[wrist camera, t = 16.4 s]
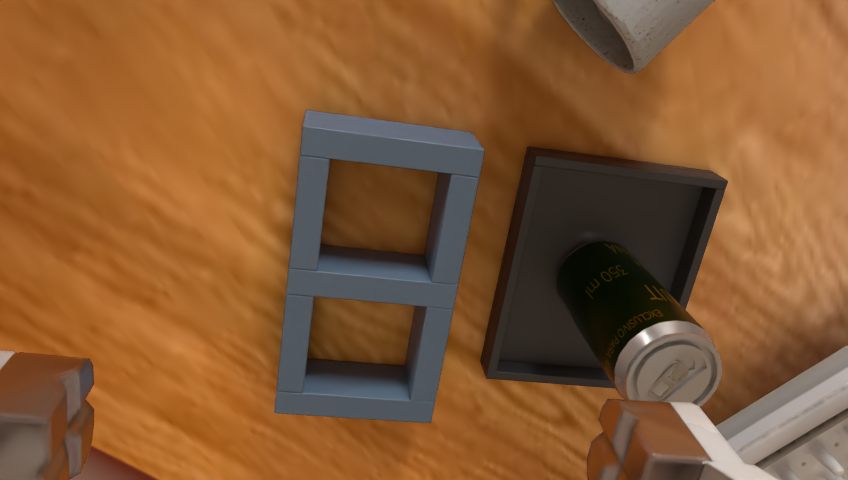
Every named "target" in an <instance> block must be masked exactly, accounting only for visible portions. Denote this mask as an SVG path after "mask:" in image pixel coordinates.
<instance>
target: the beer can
mask: <svg viewBox="0 0 848 480" xmlns="http://www.w3.org/2000/svg"><path fill="white" fill-rule="evenodd" d="M557 293H558V295H559V297H560V300H561V302H562V304H563V305H564V307H565V308H566V310H567V312H568V313H569V315H570V316H571V318H572V320H573V321H574V323H575V324H576V326H577V327H578V329H579V331H580V332H581V334H582V335H583V337H584V339H585V340H586V342H587V343H588V345H589V347H590V348H591V350H592V351H593V353H594V355H595V356H596V358H597V359H598V361H599V363H600V364H601V366H602V367H603V369H604V370H605V372H606V374H607V375H608V377H609V378H610V380H611V382H612V383H613V385H614V386H615V388H616V390H617V391H618V393H619V394H620V395H621V396H622V397H623V398H624V400H637V401H656V402H689V403H693V404H695V405H697V406H699V407H701V406H702V405H703V404H705V403H706V402H707V401H708V400H709V398H710V397H711V396H712V395H713V393H714V392H715V391H716V389H717V387H718V384H719V382H720V379H721V375H722V362H721V359H720V356H719V353H718V351H717V350H716V349H715V345H714V342H713V339H712V338H711V337H710V336H709V335H708V334H707V332H706V331H705V330H704V329H703V328H702V327H701V326H700V325H699V324H698V323H697V322H696V321H695V320H694V319H693V317H692V316H691V315H690V314H689V313H688V312H687V311H686V310H685V309H684V308H683V307H682V306H681V305H680V304H679V303H678V302H677V301H676V300H675V299H674V298H673V297H672V295H671V294H670V293H669V292H668V291H667V290H666V289H665V288H664V287H663V286H662V285H661V284H660V283H659V282H658V281H657V280H656V279H655V278H654V277H653V276H652V275H651V274H650V272H649V271H648V270H647V269H646V268H645V267H644V266H643V265H642V264H641V263H640V262H639V261H638V260H637V259H636V258H635V257H634V256H633V255H632V254H631V253H630V252H629V250H628V249H627V248H625V247H623V246H621V245H619V244H617V243H615V242H608V241H594V242H587V243H585V244H583V245H581V246H578V247H576V248H575V249H574V250H573V251H572V252H570V253H569V254H568V255H567V256H566V258H565V259H564V261H563V262H562V264H561V267H560V270H559V273H558V277H557Z"/></svg>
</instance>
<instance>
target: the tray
mask: <svg viewBox="0 0 848 480" xmlns="http://www.w3.org/2000/svg"><path fill="white" fill-rule="evenodd" d="M727 183H728V181H727V180H726V179H724V178H722V177H721V176H719V175H717V174H715V173H714V172H712V171H708V170H700V169H693V168H685V167H678V166H670V165H663V164H655V163H648V162H640V161H633V160H625V159H618V158H610V157H603V156H595V155H588V154H580V153H573V152H565V151H558V150H550V149H543V148H535V147H527V151H526V156H525V161H524V165H523V170H522V174H521V179H520V183H519V188H518V192H517V197H516V201H515V206H514V211H513V215H512V220H511V224H510V229H509V233H508V238H507V242H506V247H505V252H504V256H503V261H502V265H501V270H500V274H499V279H498V283H497V288H496V292H495V297H494V302H493V306H492V311H491V315H490V320H489V324H488V329H487V333H486V338H485V342H484V347H483V352H482V356H481V361H480V362H481V365H482V368H483V371H484V374H485V376H486V378H487V379H500V380H513V381H526V382H539V383H553V384H566V385H579V386H592V387H605V388H615V386H614V385H613V383H612V382H611V380H610V378H609V377H608V375H607V374H606V372H605V370H604V369H603V367H602V366H601V364H600V363H599V361H598V359H597V358H596V356H595V355H594V353H593V351H592V350H591V348H590V347H589V345H588V343H587V342H586V340H585V339H584V337H583V335H582V334H581V332H580V331H579V329H578V327H577V326H576V324H575V323H574V321H573V320H572V318H571V316H570V315H569V313H568V312H567V310H566V308H565V307H564V305H563V304H562V302H561V300H560V297H559V295H558V293H557V277H558V273H559V270H560V267H561V264H562V262H563V261H564V259H565V258H566V256H567V255H568V254H569V253H570V252H572V251H573V250H574V249H575V248H576V247H578V246H581V245H583V244H585V243H587V242H594V241H608V242H615V243H617V244H619V245H621V246H623V247H625V248H627V249H628V250H629V252H630V253H631V254H632V255H633V256H634V257H635V258H636V259H637V260H638V261H639V262H640V263H641V264H642V265H643V266H644V267H645V268H646V269H647V270H648V271H649V272H650V274H651V275H652V276H653V277H654V278H655V279H656V280H657V281H658V282H659V283H660V284H661V285H662V286H663V287H664V288H665V289H666V290H667V291H668V292H669V293H670V294H671V295H672V297H673V298H674V299H675V300H676V301H677V302H678V303H679V304H680V305H681V306H682V307H683V308H684V309H686V306H687V303H688V300H689V297H690V294H691V291H692V288H693V285H694V282H695V279H696V276H697V273H698V270H699V267H700V264H701V261H702V258H703V255H704V252H705V249H706V246H707V243H708V240H709V237H710V234H711V231H712V228H713V225H714V222H715V219H716V216H717V213H718V210H719V207H720V204H721V201H722V198H723V195H724V192H725V189H726V186H727Z"/></svg>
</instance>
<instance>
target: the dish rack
mask: <svg viewBox="0 0 848 480" xmlns="http://www.w3.org/2000/svg"><path fill="white" fill-rule="evenodd" d="M715 427H716V428H717V430H718V431H719V432H720V433H721V435H722V436H723V437H724V438H725V440H726V441H727V442H728V443H729V445H730V446H731V447H732V448H733V450H734V451H735V452H736V453H737V455H738V456H739V457H740V458H741V460H742V461H743V462H744V464H753V465H755V466H757V467H759V468H760V469H762V470H764V471H765V472H767V473H769V474H771V475H772V476H774V477H776V478H777V479H779V480H848V345H847V346H845V347H843V348H842V349H840V350H838V351H837V352H835V353H834V354H832V355H830V356H829V357H827V358H825V359H824V360H822V361H820V362H819V363H817V364H816V365H814V366H812V367H811V368H809V369H807V370H806V371H804V372H803V373H801V374H799V375H798V376H796V377H794V378H793V379H791V380H790V381H788V382H786V383H785V384H783V385H781V386H780V387H778V388H777V389H775V390H773V391H772V392H770V393H768V394H767V395H765V396H763V397H762V398H760V399H759V400H757V401H755V402H754V403H752V404H750V405H749V406H747V407H746V408H744V409H742V410H741V411H739V412H738V413H736V414H734V415H733V416H731V417H729V418H728V419H726V420H725V421H723V422H721V423H720V424H718V425H716V426H715Z"/></svg>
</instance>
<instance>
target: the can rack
mask: <svg viewBox="0 0 848 480" xmlns="http://www.w3.org/2000/svg"><path fill="white" fill-rule="evenodd" d="M484 152H485V150H484V148H483V147H482V146H481V144H480V143H479V141H478V140H477V139H476V137H475V136H474V135H473V133H472V132H466V131H459V130H451V129H444V128H436V127H429V126H422V125H414V124H407V123H399V122H392V121H385V120H377V119H370V118H362V117H355V116H348V115H340V114H333V113H325V112H318V111H311V110H306V113H305V118H304V123H303V129H302V139H301V149H300V159H299V169H298V179H297V189H296V199H295V209H294V219H293V230H292V240H291V250H290V260H289V270H288V280H287V290H286V300H285V310H284V320H283V330H282V340H281V350H280V360H279V370H278V380H277V391H276V400H275V410H274V412H275V413H281V414H296V415H312V416H327V417H343V418H358V419H373V420H389V421H404V422H420V423H431V420H432V415H433V410H434V405H435V400H436V395H437V390H438V385H439V380H440V375H441V370H442V365H443V360H444V355H445V350H446V345H447V340H448V335H449V330H450V325H451V319H452V314H453V309H454V304H455V299H456V294H457V289H458V283H459V278H460V273H461V268H462V263H463V258H464V253H465V248H466V243H467V238H468V233H469V228H470V223H471V218H472V213H473V208H474V203H475V197H476V192H477V187H478V182H479V177H480V172H481V167H482V162H483V157H484ZM330 159H335V160H343V161H351V162H359V163H367V164H375V165H383V166H391V167H399V168H407V169H415V170H423V171H431V172H439V173H438V179H437V185H436V190H435V196H434V202H433V207H432V213H431V219H430V225H429V230H428V236H427V242H426V247H425V253H424V255H425V256H424V255H415V254H405V253H396V252H386V251H377V250H367V249H357V248H348V247H338V246H329V245H320V243H321V234H322V226H323V217H324V209H325V200H326V191H327V183H328V174H329V165H330ZM314 296H317V297H328V298H339V299H349V300H360V301H371V302H382V303H393V304H404V305H414V306H415V310H414V315H413V321H412V327H411V333H410V338H409V344H408V350H407V355H406V361H405V366H395V365H382V364H369V363H356V362H344V361H331V360H318V359H307V355H308V347H309V338H310V329H311V321H312V312H313V303H314Z"/></svg>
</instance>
